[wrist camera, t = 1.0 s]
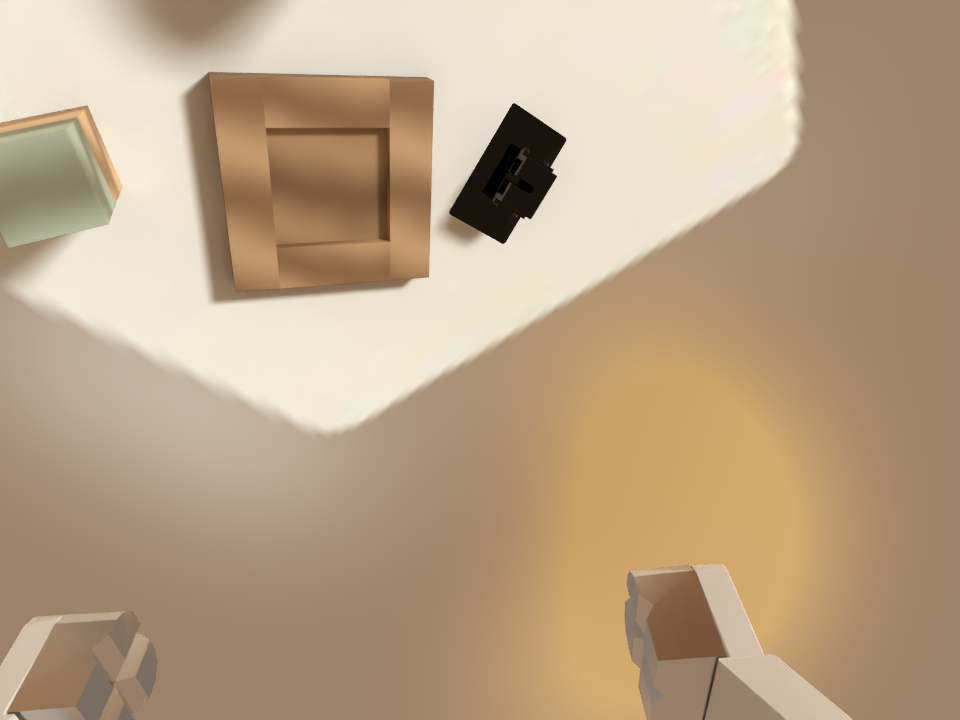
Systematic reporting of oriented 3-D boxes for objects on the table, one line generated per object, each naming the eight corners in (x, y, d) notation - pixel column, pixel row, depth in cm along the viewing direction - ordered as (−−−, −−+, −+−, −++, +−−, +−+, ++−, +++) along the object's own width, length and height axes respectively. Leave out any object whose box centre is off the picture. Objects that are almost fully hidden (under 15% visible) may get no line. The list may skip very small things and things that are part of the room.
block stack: (-4, 123, 39) (-45, 153, 33) (87, 105, 40) (65, 131, 34) (38, 205, 42) (8, 247, 36) (122, 186, 43) (108, 224, 37)
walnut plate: (208, 72, 42) (208, 75, 40) (426, 77, 46) (433, 80, 45) (234, 282, 48) (235, 291, 47) (422, 268, 53) (428, 277, 51)
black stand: (513, 74, 49) (539, 82, 45) (584, 126, 53) (614, 137, 49) (429, 223, 52) (446, 242, 48) (501, 262, 56) (523, 282, 52)
